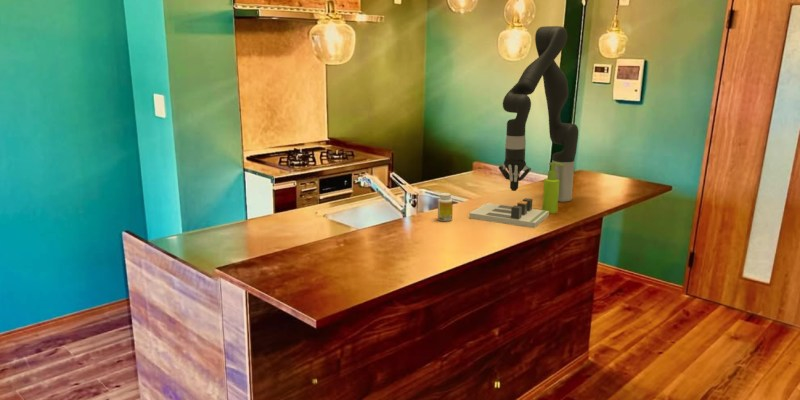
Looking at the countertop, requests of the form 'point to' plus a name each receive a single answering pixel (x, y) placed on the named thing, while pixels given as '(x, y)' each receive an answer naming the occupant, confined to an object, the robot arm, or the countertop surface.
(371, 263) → the countertop surface
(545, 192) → the soap dispenser
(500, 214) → the breaker panel
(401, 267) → the countertop surface
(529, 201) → the breaker
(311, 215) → the countertop surface
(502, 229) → the countertop surface
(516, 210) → the block
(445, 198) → the supplement bottle
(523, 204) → the breaker mid
